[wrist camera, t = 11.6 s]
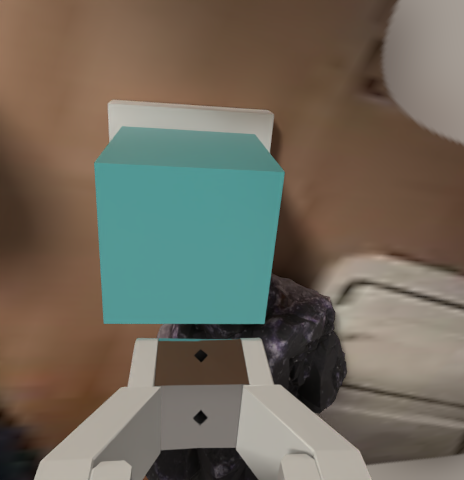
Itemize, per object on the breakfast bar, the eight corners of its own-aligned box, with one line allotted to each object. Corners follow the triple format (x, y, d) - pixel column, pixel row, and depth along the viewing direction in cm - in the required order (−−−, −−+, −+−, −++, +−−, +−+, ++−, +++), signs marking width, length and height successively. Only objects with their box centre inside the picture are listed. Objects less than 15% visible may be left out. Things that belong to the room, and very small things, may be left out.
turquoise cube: (121, 126, 19) (94, 162, 13) (254, 134, 20) (284, 172, 14) (125, 247, 22) (104, 323, 16) (243, 250, 23) (264, 324, 17)
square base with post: (112, 99, 21) (71, 131, 13) (268, 110, 22) (313, 145, 14) (118, 243, 24) (87, 334, 17) (253, 246, 25) (283, 334, 18)
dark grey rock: (362, 271, 28) (438, 361, 19) (314, 431, 32) (355, 569, 23) (162, 241, 27) (135, 321, 17) (140, 411, 31) (108, 549, 22)
